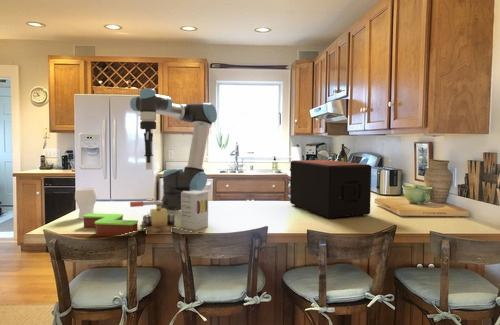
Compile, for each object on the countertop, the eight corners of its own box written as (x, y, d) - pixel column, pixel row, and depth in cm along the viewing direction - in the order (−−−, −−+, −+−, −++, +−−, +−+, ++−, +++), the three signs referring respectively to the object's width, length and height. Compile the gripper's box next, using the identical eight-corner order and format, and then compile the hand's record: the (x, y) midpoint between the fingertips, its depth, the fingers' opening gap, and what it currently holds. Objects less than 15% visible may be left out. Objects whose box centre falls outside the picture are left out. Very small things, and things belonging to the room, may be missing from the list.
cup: (89, 220, 185) (88, 190, 184) (70, 219, 187) (70, 190, 186) (101, 215, 195) (101, 188, 194) (84, 215, 197) (83, 187, 196)
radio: (371, 216, 196) (373, 164, 194) (329, 220, 187) (330, 165, 185) (326, 202, 238) (326, 159, 236) (289, 205, 229) (289, 160, 227)
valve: (173, 222, 175) (172, 202, 174) (175, 225, 169) (174, 204, 169) (142, 225, 170) (142, 204, 169) (143, 228, 164) (143, 206, 164)
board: (171, 222, 181) (170, 219, 181) (177, 231, 163) (177, 228, 163) (141, 224, 177) (141, 221, 176) (145, 234, 158) (145, 231, 158)
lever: (161, 203, 171) (161, 199, 171) (163, 204, 168) (163, 201, 168) (130, 205, 166) (129, 201, 166) (130, 207, 162) (130, 203, 162)
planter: (66, 235, 157) (66, 221, 157) (89, 225, 176) (89, 213, 175) (133, 237, 154) (132, 223, 154) (149, 227, 172) (149, 214, 172)
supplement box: (195, 230, 165) (195, 193, 164) (180, 227, 170) (180, 192, 169) (208, 226, 173) (208, 191, 172) (193, 223, 178) (193, 189, 177)
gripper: (141, 121, 183) (142, 168, 185) (138, 120, 170) (139, 170, 172) (157, 121, 184) (157, 168, 186) (155, 120, 172) (155, 170, 173)
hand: (148, 169), depth 179 cm, fingers closed
